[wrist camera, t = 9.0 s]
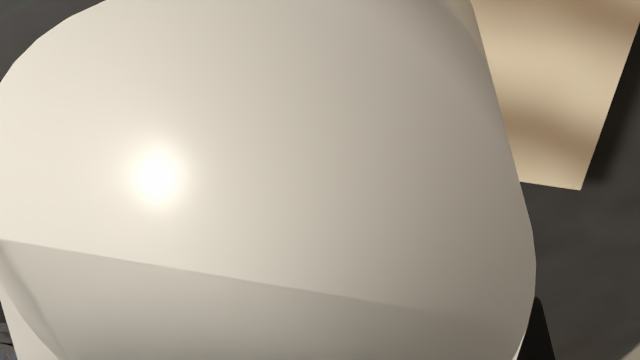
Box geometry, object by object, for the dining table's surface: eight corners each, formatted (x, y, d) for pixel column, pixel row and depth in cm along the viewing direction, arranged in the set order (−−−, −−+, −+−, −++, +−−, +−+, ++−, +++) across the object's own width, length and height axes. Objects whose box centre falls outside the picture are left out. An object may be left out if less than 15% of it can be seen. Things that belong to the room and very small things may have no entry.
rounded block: (401, 449, 13) (382, 767, 9) (223, 414, 14) (114, 695, 9) (510, -71, 8) (625, 26, 3) (204, -97, 8) (-100, -47, 4)
